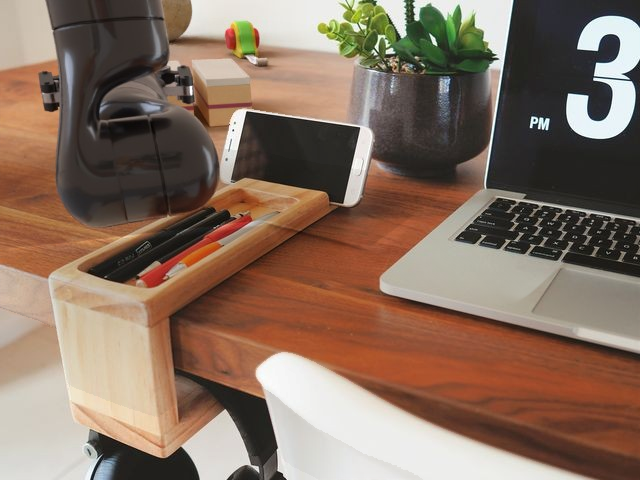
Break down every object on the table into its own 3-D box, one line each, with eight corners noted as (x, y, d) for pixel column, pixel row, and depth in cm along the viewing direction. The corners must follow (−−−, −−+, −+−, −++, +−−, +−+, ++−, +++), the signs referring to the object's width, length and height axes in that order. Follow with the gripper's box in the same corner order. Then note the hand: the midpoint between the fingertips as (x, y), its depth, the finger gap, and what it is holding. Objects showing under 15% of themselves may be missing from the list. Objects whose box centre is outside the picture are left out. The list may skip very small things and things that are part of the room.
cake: (149, 131, 97) (144, 82, 94) (141, 106, 109) (136, 62, 106) (253, 123, 102) (250, 77, 99) (234, 100, 113) (231, 58, 110)
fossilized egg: (123, 42, 157) (114, -33, 151) (160, 34, 168) (153, -36, 161) (171, 47, 153) (163, -29, 146) (206, 39, 163) (200, -33, 157)
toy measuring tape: (250, 48, 154) (248, 16, 151) (278, 65, 139) (277, 30, 136) (220, 50, 152) (218, 17, 149) (246, 67, 136) (244, 31, 133)
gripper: (203, 62, 63) (180, 33, 77) (27, 69, 59) (35, 37, 72) (210, 145, 67) (186, 103, 80) (43, 158, 62) (48, 111, 76)
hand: (115, 72), depth 76 cm, fingers open, 8 cm apart
